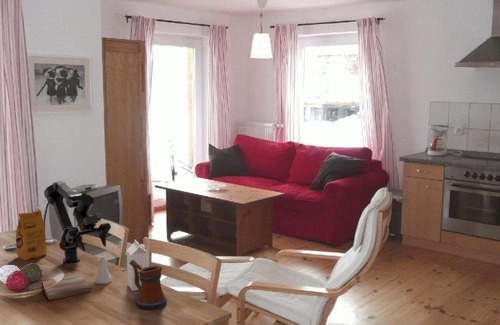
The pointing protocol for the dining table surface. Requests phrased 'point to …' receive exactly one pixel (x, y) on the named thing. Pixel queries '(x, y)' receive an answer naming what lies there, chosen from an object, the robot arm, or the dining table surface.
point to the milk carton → (140, 257)
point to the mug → (149, 287)
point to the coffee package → (30, 235)
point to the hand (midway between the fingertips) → (95, 248)
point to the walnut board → (69, 287)
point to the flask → (102, 273)
